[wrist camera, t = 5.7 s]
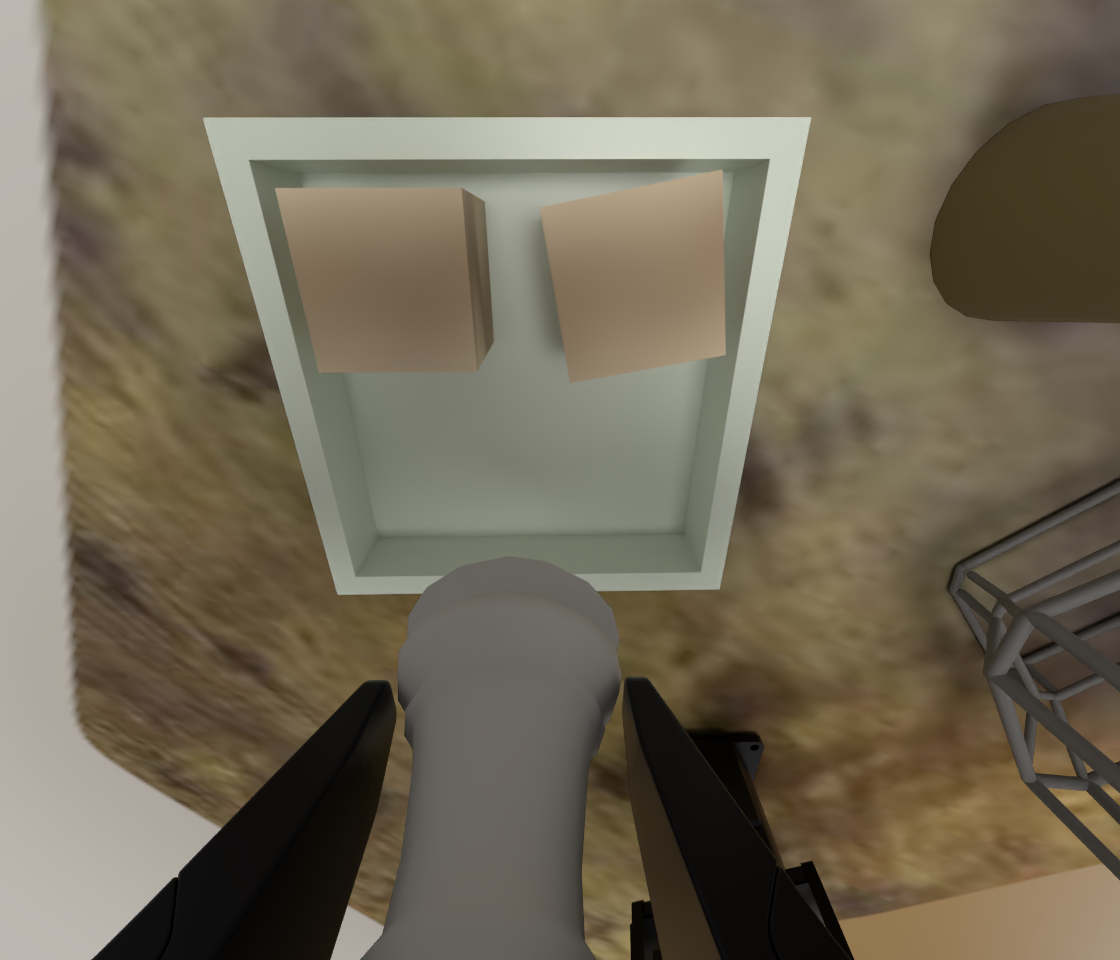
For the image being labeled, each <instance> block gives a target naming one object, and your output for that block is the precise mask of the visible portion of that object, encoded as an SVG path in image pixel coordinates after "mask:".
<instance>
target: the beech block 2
mask: <svg viewBox="0 0 1120 960" xmlns="http://www.w3.org/2000/svg"><path fill="white" fill-rule="evenodd" d="M540 212H541V218H542V224H543V230H544V236H545V241H546V247H547V253H548V259H549V264H550V270H551V276H552V282H553V288H554V293H555V299H556V305H557V311H558V316H559V322H560V328H561V334H562V340H563V345H564V351H565V357H566V363H567V369H568V374H569V380H570V383H574V382H580V381H585V380H591V379H596V378H602V377H607V376H613V375H618V374H624V373H629V372H635V371H641V370H646V369H652V368H657V367H663V366H668V365H674V364H679V363H685V362H690V361H696V360H701V359H707V358H712V357H718V356H723V355H726V342H725V284H724V226H723V170H718V171H713V172H708V173H703V174H699V175H694V176H689V177H684V178H679V179H675V180H670V181H665V182H660V183H655V184H651V185H646V186H641V187H636V188H631V189H626V190H622V191H617V192H612V193H607V194H602V195H598V196H593V197H588V198H583V199H578V200H573V201H569V202H564V203H559V204H554V205H549V206H545V207H540Z"/></svg>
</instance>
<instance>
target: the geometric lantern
mask: <svg viewBox="0 0 1120 960" xmlns="http://www.w3.org/2000/svg"><path fill="white" fill-rule="evenodd" d="M1118 493H1120V481H1117V482H1115V484H1113V485H1111V486H1109V487H1107V488H1105V489H1103V490H1101V491H1099V492H1097V493H1095V494H1094V495H1092V496H1090V497H1088V498H1086V499H1084V500H1082V501H1080V502H1078V503H1076V504H1074V505H1072V506H1070V507H1069V508H1067V509H1065V510H1063V511H1061V512H1059V513H1057V514H1055V515H1053V516H1051V517H1049V518H1047V519H1046V520H1044V521H1042V522H1040V523H1038V524H1036V525H1034V526H1032V527H1030V528H1028V529H1026V530H1024V531H1022V532H1021V533H1019V534H1017V535H1015V536H1013V537H1011V538H1009V539H1007V540H1005V541H1003V542H1001V543H999V544H997V545H996V546H994V547H992V548H990V549H988V550H986V551H984V552H982V553H980V554H978V555H976V556H974V557H973V558H971V559H969V560H967V561H965V562H963V563H961V564H960V565H957V566H956V568H955V571H954V575H953V578H952V581H951V585H950V588H949V592H950V593H951V594H952V595H953V597H954V598H955V600H956V602H957V604H958V605H959V607H960V609H961V611H962V612H963V614H964V616H965V618H966V619H967V621H968V623H969V624H970V626H971V628H972V630H973V631H974V633H975V635H976V637H977V638H978V640H979V642H980V644H981V645H982V647H983V649H984V650H985V659H984V667H983V674H984V676H985V677H986V678H987V680H988V683H989V686H990V689H991V692H992V695H993V698H994V701H995V704H996V707H997V710H998V712H999V715H1000V718H1001V721H1002V724H1003V727H1004V730H1005V733H1006V736H1007V739H1008V741H1009V744H1010V747H1011V750H1012V753H1013V756H1014V759H1015V762H1016V765H1017V768H1018V770H1019V773H1020V776H1021V779H1022V781H1023V782H1024V783H1025V784H1026V785H1027V786H1028V788H1029V789H1030V790H1031V791H1032V792H1033V793H1034V794H1035V795H1036V796H1037V797H1038V798H1039V799H1040V800H1041V801H1042V802H1043V803H1044V804H1045V805H1046V806H1047V807H1048V808H1049V809H1050V810H1051V811H1052V812H1053V813H1054V814H1055V815H1056V816H1057V817H1058V818H1059V819H1060V820H1061V821H1062V822H1063V823H1064V824H1065V825H1066V826H1067V827H1068V828H1069V829H1070V830H1071V831H1072V832H1073V833H1074V834H1075V835H1076V836H1077V837H1078V838H1079V839H1080V840H1081V842H1082V843H1083V844H1084V845H1085V846H1086V847H1087V848H1088V849H1089V850H1090V851H1091V852H1092V853H1093V854H1094V855H1095V856H1096V857H1097V858H1098V859H1099V860H1100V861H1101V862H1102V863H1103V864H1104V865H1105V866H1106V867H1107V868H1108V869H1109V870H1110V871H1111V872H1112V873H1113V874H1114V875H1115V876H1116V877H1117V878H1118V879H1119V880H1120V860H1119V859H1118V858H1117V857H1116V856H1115V855H1114V854H1113V853H1112V852H1111V851H1110V850H1109V849H1108V848H1107V847H1106V846H1105V845H1104V844H1103V843H1102V842H1101V841H1100V840H1099V839H1098V838H1097V837H1096V836H1095V835H1094V834H1093V833H1092V832H1091V831H1090V830H1089V829H1088V828H1086V827H1085V826H1084V825H1083V824H1082V823H1081V822H1080V821H1079V820H1078V819H1077V818H1076V817H1075V816H1074V815H1073V814H1072V813H1071V812H1070V811H1069V810H1068V809H1067V808H1066V807H1065V806H1064V805H1063V804H1062V803H1061V802H1060V801H1059V800H1058V799H1057V798H1056V797H1055V796H1054V795H1053V794H1052V793H1051V792H1050V791H1049V790H1048V789H1047V788H1057V789H1068V790H1078V791H1087V792H1088V793H1089V794H1090V795H1091V796H1092V797H1093V798H1094V799H1095V800H1096V801H1097V802H1098V803H1099V804H1100V805H1101V806H1102V807H1103V808H1104V809H1105V810H1106V811H1107V812H1108V813H1109V814H1110V815H1111V816H1112V817H1113V819H1114V820H1115V821H1116V822H1117V823H1118V824H1119V825H1120V806H1119V805H1118V804H1117V803H1116V802H1115V801H1114V800H1113V799H1112V798H1111V797H1110V796H1109V795H1108V794H1107V793H1106V792H1105V791H1104V790H1103V789H1102V788H1101V787H1100V786H1103V785H1106V784H1108V783H1109V784H1110V785H1111V786H1112V787H1113V788H1115V789H1116V790H1117V791H1118V792H1119V793H1120V761H1119V762H1117V763H1114V762H1112V761H1111V760H1110V759H1109V758H1108V757H1107V756H1105V755H1104V754H1103V753H1102V752H1101V751H1099V750H1098V749H1097V748H1096V747H1095V746H1094V745H1092V744H1091V743H1090V742H1089V741H1087V740H1086V739H1085V738H1084V737H1083V736H1081V735H1080V734H1079V733H1078V732H1077V731H1075V730H1074V729H1073V728H1072V727H1071V726H1069V723H1068V721H1067V718H1066V715H1065V713H1064V710H1063V707H1062V705H1061V702H1060V701H1061V700H1064V699H1066V698H1068V697H1070V696H1072V695H1074V694H1077V693H1079V692H1081V691H1083V690H1085V689H1088V688H1090V687H1092V686H1094V685H1096V684H1098V683H1101V682H1103V681H1105V680H1106V681H1107V682H1108V683H1110V684H1111V685H1112V686H1114V687H1115V688H1116V689H1117V690H1119V691H1120V662H1118V663H1116V664H1115V663H1113V662H1112V661H1111V660H1109V659H1108V658H1106V657H1105V656H1104V655H1102V654H1101V653H1100V652H1098V651H1097V650H1095V649H1094V648H1093V647H1091V646H1090V645H1088V644H1087V643H1086V642H1084V641H1086V640H1088V639H1090V638H1092V637H1095V636H1097V635H1099V634H1101V633H1104V632H1106V631H1108V630H1110V629H1113V628H1115V627H1117V626H1119V625H1120V615H1118V616H1116V617H1113V618H1111V619H1109V620H1107V621H1105V622H1102V623H1100V624H1098V625H1096V626H1094V627H1091V628H1089V629H1087V630H1085V631H1082V632H1080V633H1078V634H1076V635H1075V634H1073V633H1072V632H1070V631H1069V630H1068V629H1066V628H1065V627H1063V626H1062V625H1061V624H1059V623H1058V622H1056V621H1055V620H1054V619H1052V618H1051V617H1054V616H1056V615H1059V614H1061V613H1064V612H1066V611H1069V610H1071V609H1073V608H1076V607H1078V606H1081V605H1083V604H1086V603H1088V602H1091V601H1093V600H1096V599H1098V598H1100V597H1103V596H1105V595H1108V594H1110V593H1113V592H1115V591H1118V590H1120V569H1119V570H1116V571H1114V572H1111V573H1109V574H1107V575H1104V576H1102V577H1099V578H1097V579H1095V580H1092V581H1090V582H1087V583H1085V584H1083V585H1080V586H1078V587H1075V588H1073V589H1071V590H1068V591H1066V592H1064V593H1061V594H1059V595H1056V596H1054V597H1052V598H1049V599H1047V600H1044V601H1042V602H1040V603H1037V604H1035V605H1032V606H1030V607H1028V608H1026V609H1023V610H1022V609H1021V608H1020V607H1019V606H1017V605H1016V604H1015V603H1016V602H1018V601H1020V600H1022V599H1025V598H1027V597H1029V596H1031V595H1033V594H1035V593H1037V592H1039V591H1041V590H1043V589H1045V588H1047V587H1050V586H1052V585H1054V584H1056V583H1058V582H1060V581H1062V580H1064V579H1066V578H1068V577H1070V576H1072V575H1075V574H1077V573H1079V572H1081V571H1083V570H1085V569H1087V568H1089V567H1091V566H1093V565H1095V564H1097V563H1099V562H1102V561H1104V560H1106V559H1108V558H1110V557H1112V556H1114V555H1116V554H1118V553H1120V540H1119V541H1117V542H1115V543H1113V544H1111V545H1109V546H1106V547H1104V548H1102V549H1100V550H1098V551H1096V552H1094V553H1092V554H1090V555H1088V556H1086V557H1084V558H1082V559H1080V560H1078V561H1076V562H1074V563H1072V564H1070V565H1068V566H1065V567H1063V568H1061V569H1059V570H1057V571H1055V572H1053V573H1051V574H1049V575H1047V576H1045V577H1043V578H1041V579H1039V580H1037V581H1035V582H1033V583H1031V584H1029V585H1027V586H1024V587H1022V588H1020V589H1018V590H1016V591H1014V592H1012V593H1010V594H1008V595H1007V594H1006V593H1004V592H1003V591H1001V590H1000V589H999V588H997V587H996V586H994V585H993V584H991V583H990V582H988V581H987V580H986V579H984V578H983V577H981V576H980V575H978V574H977V573H975V572H973V571H970V572H968V573H967V577H968V578H969V579H970V580H971V581H973V582H974V583H976V584H977V585H978V586H980V587H981V588H983V589H984V590H985V591H987V592H988V593H990V594H991V595H992V596H994V597H995V598H996V599H998V601H997V603H996V604H995V606H994V608H993V610H992V612H991V613H990V612H989V611H988V610H987V609H986V608H985V607H984V606H982V605H981V604H980V603H979V602H978V601H977V600H976V599H974V598H973V597H972V596H971V595H970V594H969V593H968V592H966V591H965V590H960V588H961V585H962V582H963V579H964V576H965V572H966V570H970V569H972V568H974V567H976V566H978V565H980V564H982V563H984V562H986V561H988V560H990V559H991V558H993V557H995V556H997V555H999V554H1001V553H1003V552H1005V551H1007V550H1009V549H1011V548H1013V547H1015V546H1017V545H1019V544H1021V543H1023V542H1025V541H1027V540H1028V539H1030V538H1032V537H1034V536H1036V535H1038V534H1040V533H1042V532H1044V531H1046V530H1048V529H1050V528H1052V527H1054V526H1056V525H1058V524H1060V523H1062V522H1063V521H1065V520H1067V519H1069V518H1071V517H1073V516H1075V515H1077V514H1079V513H1081V512H1083V511H1085V510H1087V509H1089V508H1091V507H1093V506H1095V505H1097V504H1098V503H1100V502H1102V501H1104V500H1106V499H1108V498H1110V497H1112V496H1114V495H1116V494H1118ZM970 607H971V608H972V609H974V610H975V611H976V612H977V613H978V614H979V615H980V616H981V617H982V618H984V619H985V620H986V621H987V622H988V623H989V628H988V635H987V637H986V635H985V633H984V631H983V629H982V628H981V626H980V624H979V622H978V620H977V619H976V617H975V615H974V613H973V612H972V610H971V608H970ZM1006 610H1007V611H1008V612H1009V613H1010V614H1011V615H1012V616H1013V617H1014V619H1013V621H1012V623H1011V624H1010V626H1009V628H1008V629H1007V628H1006V626H1005V625H1004V623H1003V621H1002V617H1003V615H1004V613H1005V612H1006ZM1034 627H1036V628H1037V629H1038V630H1040V631H1041V632H1042V633H1044V634H1045V635H1046V636H1048V637H1049V638H1050V639H1052V640H1053V641H1054V642H1056V644H1054V645H1051V646H1049V647H1047V648H1045V649H1043V650H1040V651H1038V652H1036V653H1034V654H1032V655H1029V656H1027V657H1025V658H1023V659H1022V658H1021V656H1020V654H1019V652H1020V650H1021V648H1022V647H1023V645H1024V643H1025V642H1026V640H1027V638H1028V637H1029V635H1030V633H1031V632H1032V630H1033V629H1034ZM1000 640H1001V642H1000ZM1063 650H1066V651H1067V652H1069V653H1070V654H1071V655H1073V656H1074V657H1075V658H1077V659H1078V660H1079V661H1081V662H1082V663H1083V664H1085V665H1086V666H1087V667H1088V668H1090V669H1091V670H1092V671H1094V672H1095V674H1093V675H1090V676H1088V677H1086V678H1084V679H1082V680H1080V681H1078V682H1075V683H1073V684H1071V685H1069V686H1067V687H1065V688H1063V689H1060V690H1058V689H1057V688H1055V687H1054V686H1053V685H1052V684H1051V683H1050V682H1049V681H1048V680H1047V679H1046V678H1045V677H1044V676H1042V675H1041V674H1040V673H1039V672H1038V671H1037V670H1036V669H1035V668H1034V667H1033V666H1032V664H1034V663H1036V662H1039V661H1041V660H1043V659H1045V658H1048V657H1050V656H1052V655H1054V654H1057V653H1059V652H1061V651H1063ZM1013 668H1016V670H1017V672H1018V673H1017V672H1016V671H1015V670H1014V669H1013ZM1007 674H1008V675H1007ZM1031 676H1032V677H1033V678H1034V679H1035V680H1036V681H1037V682H1038V683H1039V684H1040V685H1042V686H1043V687H1044V688H1045V689H1046V690H1047V691H1048V692H1046V691H1038V689H1037V687H1036V685H1035V683H1034V681H1033V679H1032V677H1031ZM1012 699H1013V700H1014V701H1015V702H1016V703H1017V704H1019V705H1020V706H1021V707H1022V708H1023V709H1024V710H1025V711H1027V713H1026V722H1025V731H1024V736H1023V733H1022V730H1021V727H1020V723H1019V720H1018V717H1017V714H1016V711H1015V707H1014V704H1013V701H1012ZM1039 699H1044V700H1049V701H1050V704H1051V707H1052V710H1053V712H1052V711H1051V710H1050V709H1049V708H1048V707H1046V706H1045V705H1044V704H1043V703H1042V702H1040V701H1039ZM1037 721H1038V722H1039V723H1040V724H1042V725H1043V726H1044V727H1045V728H1046V729H1047V730H1048V731H1050V732H1051V733H1052V734H1053V735H1054V736H1055V737H1057V738H1058V739H1059V740H1060V741H1061V742H1062V743H1063V744H1065V745H1066V748H1067V750H1068V753H1069V756H1070V759H1071V761H1072V764H1073V767H1074V769H1075V772H1076V775H1077V777H1074V776H1061V775H1050V774H1040V773H1035V772H1034V768H1033V765H1032V764H1033V755H1034V745H1035V736H1036V726H1037ZM1082 760H1083V761H1084V762H1085V763H1086V764H1087V765H1089V766H1090V767H1091V768H1092V769H1093V770H1094V771H1092V772H1089V773H1087V771H1086V769H1085V766H1084V763H1083V761H1082Z"/></svg>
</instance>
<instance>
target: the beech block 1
mask: <svg viewBox="0 0 1120 960" xmlns="http://www.w3.org/2000/svg"><path fill="white" fill-rule="evenodd" d="M275 191H276V195H277V199H278V203H279V208H280V212H281V216H282V220H283V224H284V228H285V233H286V237H287V241H288V245H289V249H290V253H291V258H292V262H293V266H294V270H295V274H296V279H297V283H298V287H299V291H300V295H301V299H302V304H303V308H304V312H305V316H306V320H307V324H308V329H309V333H310V337H311V341H312V345H313V349H314V354H315V358H316V362H317V366H318V370H319V373H386V372H477V371H478V369H479V367H480V366H481V364H482V362H483V360H484V359H485V357H486V355H487V353H488V351H489V350H490V348H491V346H492V344H493V343H494V333H493V318H492V303H491V288H490V273H489V258H488V243H487V228H486V212H485V201H483V200H482V199H480V198H478V197H477V196H475V195H473V194H471V193H470V192H468V191H466V190H465V189H463V188H275Z"/></svg>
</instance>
